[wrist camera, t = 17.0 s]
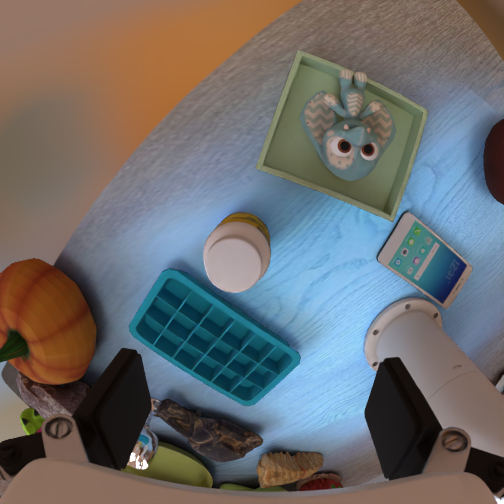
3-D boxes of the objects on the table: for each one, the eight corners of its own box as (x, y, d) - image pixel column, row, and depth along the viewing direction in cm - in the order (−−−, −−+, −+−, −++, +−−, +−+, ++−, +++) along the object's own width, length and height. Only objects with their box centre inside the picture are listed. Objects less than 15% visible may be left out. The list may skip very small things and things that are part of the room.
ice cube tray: (250, 395, 41) (249, 408, 38) (133, 320, 38) (125, 331, 36) (302, 345, 38) (305, 357, 35) (174, 256, 36) (167, 264, 33)
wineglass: (132, 400, 43) (106, 450, 31) (155, 391, 42) (130, 445, 30) (154, 421, 44) (134, 472, 32) (178, 414, 43) (160, 469, 31)
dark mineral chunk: (266, 455, 38) (217, 398, 35) (202, 469, 40) (147, 418, 36) (265, 431, 44) (221, 373, 40) (205, 446, 45) (156, 394, 42)
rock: (55, 369, 46) (105, 350, 46) (77, 438, 41) (132, 428, 41) (3, 367, 33) (49, 345, 33) (26, 449, 28) (79, 445, 28)
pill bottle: (280, 231, 34) (287, 259, 24) (248, 272, 36) (242, 315, 25) (236, 199, 34) (223, 213, 23) (206, 242, 35) (181, 273, 24)
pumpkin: (127, 354, 40) (88, 422, 26) (49, 364, 42) (7, 414, 28) (73, 234, 35) (1, 270, 21) (1, 268, 37) (-57, 302, 23)
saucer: (211, 492, 50) (209, 502, 47) (124, 470, 50) (120, 480, 47) (219, 446, 45) (216, 459, 42) (111, 419, 45) (105, 430, 41)
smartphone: (407, 209, 32) (474, 267, 33) (404, 208, 33) (471, 266, 34) (375, 261, 34) (447, 311, 35) (373, 259, 35) (444, 308, 36)
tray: (417, 114, 30) (428, 110, 27) (383, 218, 33) (393, 222, 30) (295, 59, 29) (298, 49, 26) (256, 168, 33) (255, 168, 30)
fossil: (248, 490, 41) (267, 469, 38) (245, 466, 46) (263, 443, 44) (305, 492, 43) (329, 471, 40) (300, 470, 48) (322, 448, 46)
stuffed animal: (415, 72, 21) (410, 192, 25) (389, 86, 28) (384, 184, 32) (306, 50, 22) (300, 178, 25) (299, 71, 28) (294, 173, 32)
